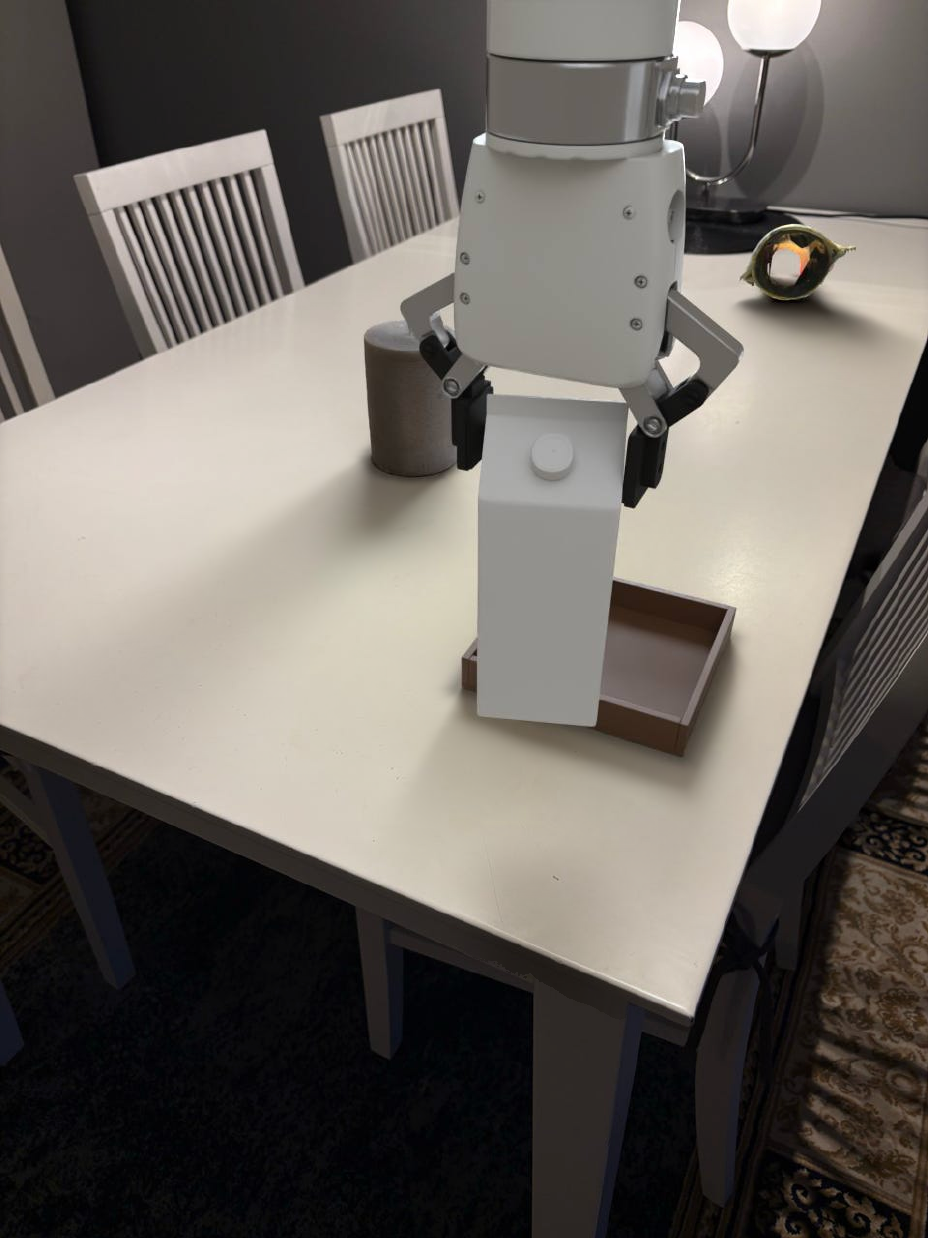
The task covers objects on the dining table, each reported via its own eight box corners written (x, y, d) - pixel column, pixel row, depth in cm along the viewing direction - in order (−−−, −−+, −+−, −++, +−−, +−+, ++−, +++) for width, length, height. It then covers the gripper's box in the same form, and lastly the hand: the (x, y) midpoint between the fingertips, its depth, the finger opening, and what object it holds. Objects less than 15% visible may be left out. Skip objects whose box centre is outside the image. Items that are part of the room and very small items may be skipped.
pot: (838, 216, 149) (853, 202, 132) (848, 287, 152) (863, 282, 135) (730, 246, 154) (731, 237, 138) (741, 314, 157) (744, 313, 140)
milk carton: (490, 645, 60) (495, 367, 49) (598, 654, 59) (629, 374, 48) (476, 718, 55) (477, 424, 43) (595, 729, 54) (629, 433, 42)
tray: (730, 636, 75) (736, 607, 73) (682, 757, 64) (688, 726, 62) (535, 585, 81) (537, 556, 79) (461, 687, 70) (461, 657, 68)
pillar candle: (374, 480, 96) (365, 341, 87) (368, 440, 104) (359, 307, 95) (465, 473, 97) (465, 335, 88) (452, 434, 105) (451, 303, 96)
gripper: (806, 105, 37) (732, 480, 48) (431, 83, 43) (438, 420, 54) (772, 135, 32) (697, 550, 42) (349, 104, 38) (375, 474, 49)
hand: (552, 476), depth 48 cm, fingers closed on milk carton, 8 cm apart
